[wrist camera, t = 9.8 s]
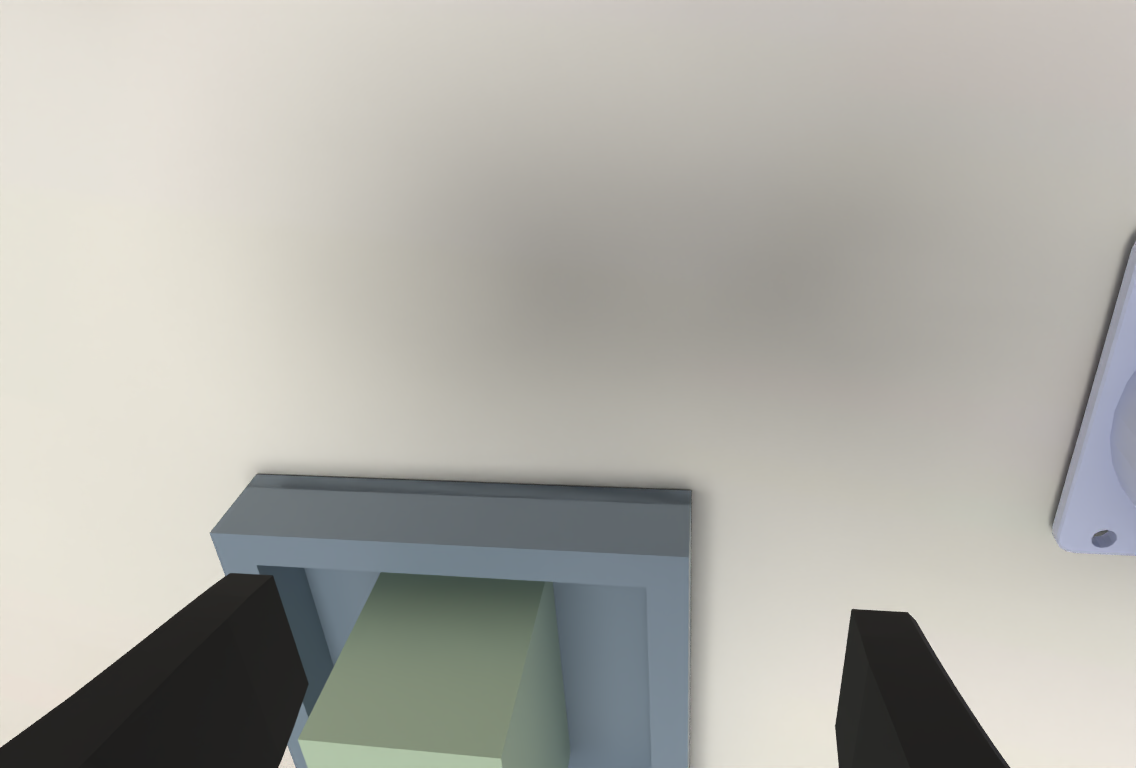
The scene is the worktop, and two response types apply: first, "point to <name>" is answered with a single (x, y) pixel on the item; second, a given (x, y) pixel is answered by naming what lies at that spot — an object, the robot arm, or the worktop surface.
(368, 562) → the tray
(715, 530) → the worktop surface
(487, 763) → the tall sage green block
